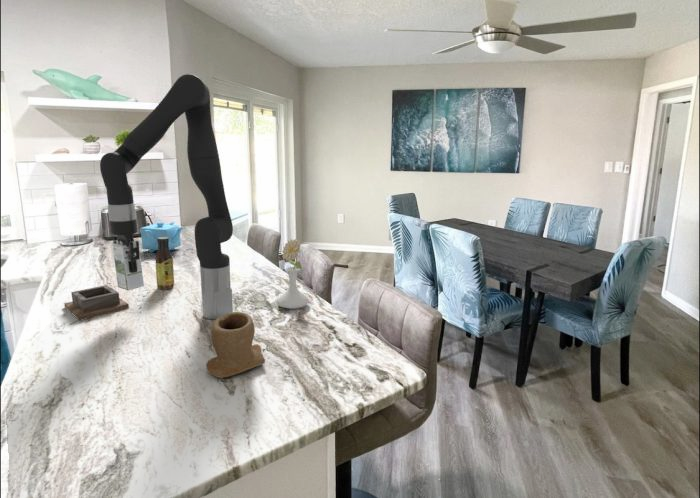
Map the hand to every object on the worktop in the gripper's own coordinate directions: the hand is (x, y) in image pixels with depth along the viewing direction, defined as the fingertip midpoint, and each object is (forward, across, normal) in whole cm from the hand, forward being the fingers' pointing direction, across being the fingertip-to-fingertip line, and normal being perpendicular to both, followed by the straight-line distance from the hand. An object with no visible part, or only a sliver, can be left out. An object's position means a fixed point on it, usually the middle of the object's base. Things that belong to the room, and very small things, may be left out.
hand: (128, 270), depth 138 cm
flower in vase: (+17, -30, -43) cm, 55 cm away
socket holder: (+15, +16, +6) cm, 23 cm away
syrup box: (+6, 0, 0) cm, 6 cm away
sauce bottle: (+16, +20, -20) cm, 32 cm away
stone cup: (+17, -52, -4) cm, 55 cm away
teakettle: (+15, +74, -46) cm, 89 cm away
